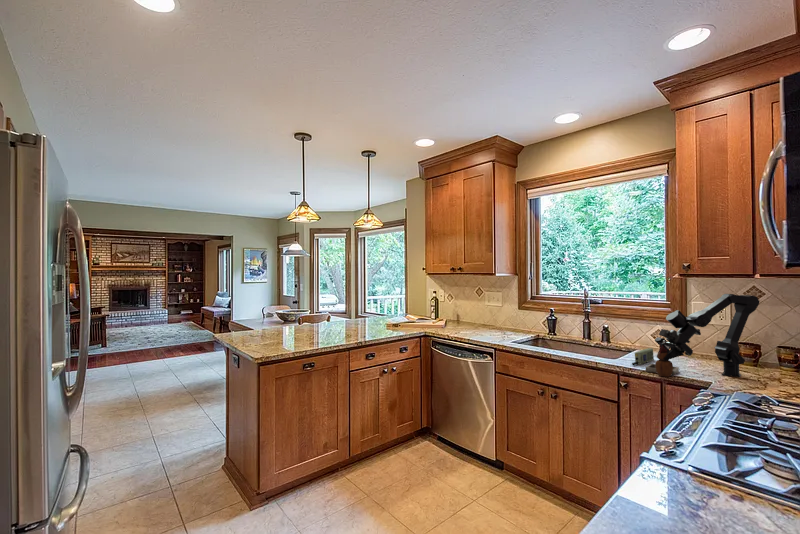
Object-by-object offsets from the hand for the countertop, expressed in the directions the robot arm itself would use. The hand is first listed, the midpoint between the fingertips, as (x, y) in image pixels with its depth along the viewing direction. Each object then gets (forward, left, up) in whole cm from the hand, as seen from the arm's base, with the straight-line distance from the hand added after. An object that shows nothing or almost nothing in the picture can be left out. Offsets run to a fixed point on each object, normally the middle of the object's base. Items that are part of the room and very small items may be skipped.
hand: (660, 358), depth 181 cm
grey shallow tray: (-11, -2, -8) cm, 14 cm away
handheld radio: (-27, -14, -9) cm, 31 cm away
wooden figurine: (-1, +1, -8) cm, 8 cm away
